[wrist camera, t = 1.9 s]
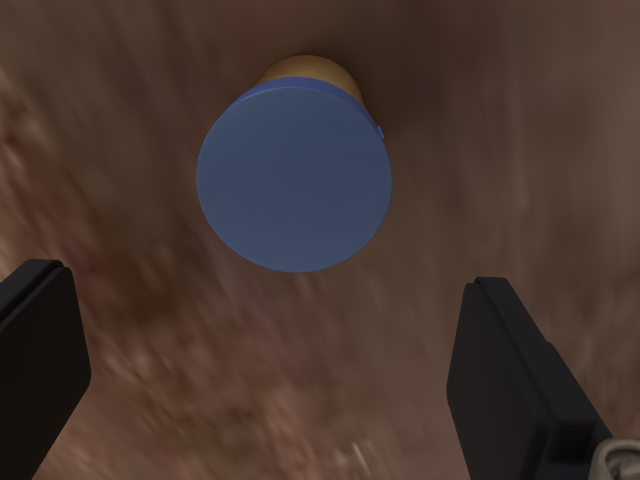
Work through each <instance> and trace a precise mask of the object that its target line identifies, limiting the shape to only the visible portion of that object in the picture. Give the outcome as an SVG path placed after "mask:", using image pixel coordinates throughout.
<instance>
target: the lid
mask: <svg viewBox="0 0 640 480" xmlns="http://www.w3.org/2000/svg"><path fill="white" fill-rule="evenodd" d="M383 140H385V138H384V136H383V133H382V131H381V128H380V126H378V127H377V125H376V123H375V121H374V120H373V118H372V116H371V115H370V114H369V113H368V111H367V110H366V109H365V107H364V106H363V105H362V104H361V103H360V102H359V101H358V100H357V99H355V98H354V97H353V96H351V95H350V94H349V93H347V92H346V91H344V90H342V89H341V88H339V87H337V86H335V85H333V84H330V83H328V82H325V81H322V80H318V79H314V78H308V77H284V78H278V79H273V80H270V81H267V82H263V83H261V84H259V85H257V86H255V87H253V88H251V89H249V90H248V91H246V92H245V93H243V94H242V95H241V96H240V97H238V98H237V99H236V100H235V101H234V102H233V103H232V104H231V105H230V106H229V107H228V109H227V110H226V111H225V112H224V113H223V114H222V115H221V117H220V118H219V119H218V120H217V121H216V122H215V124H214V125H213V126H212V128H211V130H210V131H209V133H208V134H207V136H206V138H205V140H204V143H203V145H202V147H201V151H200V154H199V158H198V164H197V171H196V183H197V191H198V197H199V200H200V204H201V207H202V209H203V212H204V214H205V216H206V219H207V220H208V222H209V224H210V225H211V227H212V229H213V230H214V231H215V233H216V234H217V235H218V236H219V238H220V239H221V240H222V241H223V242H224V243H225V244H226V245H227V246H228V247H229V248H231V249H232V250H233V251H234V252H236V253H237V254H238V255H240V256H242V257H243V258H245V259H246V260H248V261H250V262H252V263H255V264H257V265H259V266H262V267H265V268H268V269H272V270H276V271H281V272H291V273H303V272H312V271H318V270H322V269H326V268H329V267H332V266H334V265H337V264H339V263H341V262H343V261H345V260H347V259H349V258H350V257H352V256H353V255H355V254H356V253H357V252H359V251H360V250H361V249H362V248H363V247H364V246H365V245H367V244H368V242H369V241H370V240H371V239H372V238H373V237H374V235H375V234H376V232H377V231H378V229H379V228H380V226H381V225H382V223H383V221H384V218H385V216H386V214H387V211H388V208H389V205H390V200H391V195H392V180H393V179H392V169H391V164H390V160H389V156H388V153H387V150H386V147H385V144H384V142H383Z"/></svg>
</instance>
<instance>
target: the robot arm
mask: <svg viewBox="0 0 640 480" xmlns="http://www.w3.org/2000/svg"><path fill="white" fill-rule="evenodd" d="M90 380H91V366H90V361H89V356H88V351H87V346H86V341H85V335H84V330H83V325H82V320H81V315H80V310H79V305H78V300H77V295H76V289H75V284H74V279H73V274H72V271H71V270H70V268H68V267H64V265H63V264H62V262H61V261H59V260H44V259H29V260H27V261H25V262H24V263H23V264H22V265H21V266H20V267H19V268H17V269H16V270H15V271H14V272H13V273H12V274H10V275H9V276H8V277H7V278H6V279H5V280H4V281H2V282H1V283H0V480H31V479H32V477H33V476H34V474H35V473H36V471H37V469H38V468H39V466H40V464H41V463H42V461H43V460H44V458H45V456H46V455H47V453H48V451H49V450H50V448H51V447H52V445H53V443H54V442H55V440H56V438H57V437H58V435H59V434H60V432H61V430H62V429H63V427H64V426H65V424H66V422H67V421H68V419H69V417H70V416H71V414H72V413H73V411H74V409H75V408H76V406H77V404H78V403H79V401H80V400H81V398H82V396H83V395H84V393H85V391H86V390H87V388H88V386H89V383H90ZM447 400H448V404H449V407H450V411H451V414H452V417H453V421H454V424H455V428H456V431H457V434H458V438H459V441H460V444H461V448H462V451H463V454H464V458H465V461H466V464H467V468H468V471H469V474H470V478H471V480H640V440H639V439H636V438H629V437H614V438H613V436H612V435H611V433H610V431H609V430H608V428H607V427H606V425H605V424H604V422H603V421H602V419H601V418H600V416H599V415H598V413H597V411H596V410H595V408H594V407H593V405H592V404H591V402H590V401H589V399H588V398H587V396H586V395H585V393H584V392H583V390H582V388H581V387H580V385H579V384H578V382H577V381H576V379H575V378H574V376H573V375H572V373H571V372H570V370H569V369H568V367H567V365H566V364H565V362H564V361H563V359H562V358H561V356H560V355H559V353H558V352H557V350H556V349H555V347H554V346H553V345H552V344H551V343H549V342H547V341H546V340H545V338H544V337H543V335H542V334H541V332H540V330H539V329H538V327H537V326H536V324H535V323H534V321H533V319H532V318H531V316H530V315H529V313H528V312H527V310H526V309H525V307H524V305H523V304H522V302H521V301H520V299H519V298H518V296H517V294H516V293H515V291H514V290H513V288H512V287H511V285H510V283H509V282H508V280H507V279H506V278H496V277H477V278H476V279H475V281H474V283H467V284H466V286H465V289H464V294H463V299H462V305H461V310H460V315H459V321H458V326H457V332H456V337H455V342H454V348H453V353H452V359H451V364H450V369H449V375H448V380H447Z"/></svg>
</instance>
